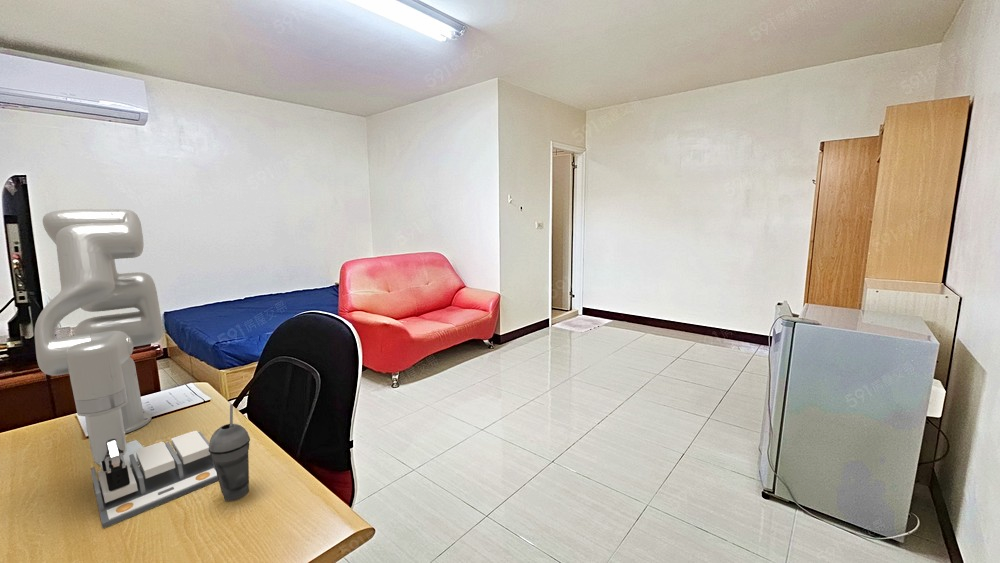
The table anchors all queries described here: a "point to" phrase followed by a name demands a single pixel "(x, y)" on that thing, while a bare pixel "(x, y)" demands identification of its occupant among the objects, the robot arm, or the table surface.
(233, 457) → the beverage cup
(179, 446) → the button
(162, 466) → the white rectangular block
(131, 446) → the hard drive
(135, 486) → the button
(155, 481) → the switch console
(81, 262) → the robot arm
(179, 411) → the table surface
